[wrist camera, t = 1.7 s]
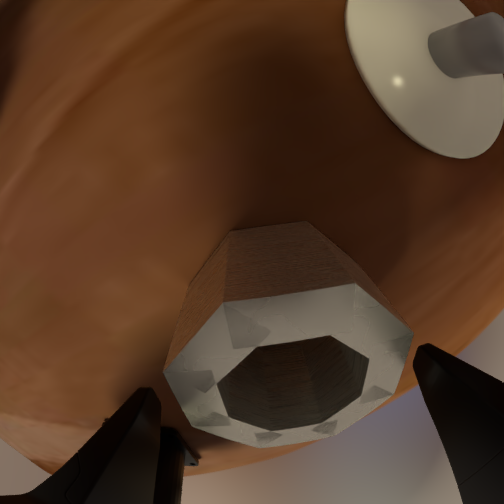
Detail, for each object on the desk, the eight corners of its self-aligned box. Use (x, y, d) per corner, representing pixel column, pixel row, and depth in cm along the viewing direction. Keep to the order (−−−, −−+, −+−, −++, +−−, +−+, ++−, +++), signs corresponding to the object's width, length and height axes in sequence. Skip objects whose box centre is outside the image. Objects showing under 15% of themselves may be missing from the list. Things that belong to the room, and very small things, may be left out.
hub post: (504, 161, 9) (563, 180, 5) (363, 155, 10) (436, 170, 5) (475, 6, 6) (524, -7, 1) (321, -44, 6) (353, -100, 1)
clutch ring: (349, 348, 13) (381, 422, 9) (213, 368, 13) (206, 450, 9) (356, 215, 10) (427, 268, 6) (177, 238, 11) (135, 310, 6)
